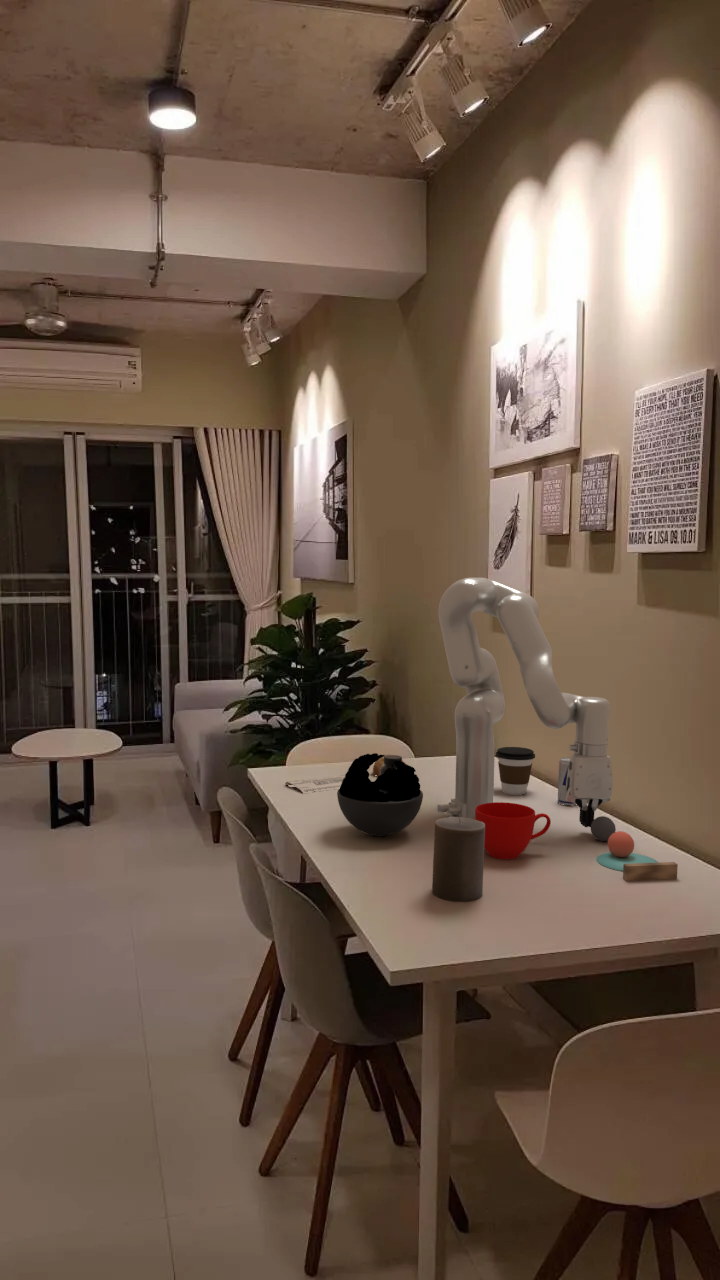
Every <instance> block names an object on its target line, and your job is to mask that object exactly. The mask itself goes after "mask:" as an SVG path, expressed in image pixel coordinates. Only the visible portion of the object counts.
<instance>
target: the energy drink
mask: <svg viewBox="0 0 720 1280" xmlns="http://www.w3.org/2000/svg"><path fill="white" fill-rule="evenodd" d="M570 759H571V757H560V758H559V761H558V778H557V779H558V782H557V786H558V787H557V803H558V804H559V803H560V804H559V805H561V804H564V805H575V806H577V805H576V803H572V802H569V801H567V800H566V795H567V792H566V780H567V772H568V767H569V762H570ZM564 805H563V806H564Z"/></svg>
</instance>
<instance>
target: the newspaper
mask: <svg viewBox="0 0 720 1280" xmlns="http://www.w3.org/2000/svg"><path fill="white" fill-rule="evenodd" d="M344 778H345V774H344V775H343V774H342V775H334V776H326V777H325V776H324V777H317V778H307V779H299V780H298V779H297V780H290V781H286V782H285V784H284V785H285V786H286V785H294V786H296V788H297V789H298V790H300V791H301V792H302V793H303V792H308V791H314V790H321V789H327V788H335V787H340V786H341V784H342V781H343V779H344Z"/></svg>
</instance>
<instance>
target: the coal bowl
mask: <svg viewBox="0 0 720 1280" xmlns="http://www.w3.org/2000/svg"><path fill="white" fill-rule="evenodd" d="M385 755H386V754H378V753H376V752H375V753H371V754H370V753H366V754H364V755H359V756H358V757H357V758H355V759H354V760H353V761H352V762H351V764H350V766H349V767H348V769H347V771H346V772H345V774H344V775H345V778H344V779H343V781H342V784H341V786H340V789H337V793H336V796H337V801H338V806H339V808H340V811H341V813H342V814H343V816H344V818H345V819H346V821H347V822H348V823H350V825H351V826H353V827H354V828H356V829H357V830H359V831H360V832H362V833H363V834H364V833H365V834H367V835H370V836H375V837H376V836H378V837H382V836H383V837H384V836H389V835H390V836H391V835H393V834H397V833H399V832H401V831H402V830H404V829H405V828H407V827H408V826H409V825H410V824H411V823H412V822H413V821H414V820H415V819H416V817H417V815H418V813H419V812H420V809H421V807H422V803H423V798H424V793H423V791H422V790H421V784H420V783H419V782H420V778H419V777H418V775H417V774H415V772H417V770H416V769H415V767H413V766H412V765H409V764H407V763H406V762H405V761H403V762H401V761H395V762H394V764H395V766H396V767H397V769H392V770H391V769H390V768H388V769H387V770H385V772H384V774H381V775H380V776H379V777H376V779H375V780H374V781H372V780H371V779H370V778H369V777H370V772H369V769H370V767H371V766H372V765H373V764H375V762H376V761H378V760H379V759H380V758H382V757H384V756H385ZM404 762H405V763H404Z"/></svg>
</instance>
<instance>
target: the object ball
mask: <svg viewBox="0 0 720 1280" xmlns="http://www.w3.org/2000/svg"><path fill="white" fill-rule="evenodd" d="M607 849H608V850H609V852H611V853H612V854H613V855H615V856H617V857H621V858H623V857H627V856H629V855H630V854H631V853H634V852H633V851H634V849H635V841H634V839H633V837H632V836H631V835H630V834H629V833H627V832H625V831H615V833H613V834H612V835H611V836H610V837H609V839H608V841H607Z"/></svg>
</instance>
